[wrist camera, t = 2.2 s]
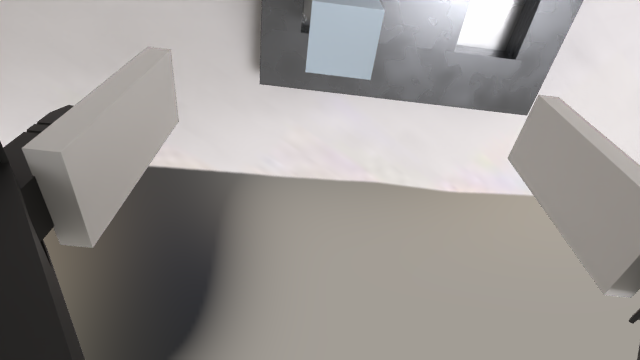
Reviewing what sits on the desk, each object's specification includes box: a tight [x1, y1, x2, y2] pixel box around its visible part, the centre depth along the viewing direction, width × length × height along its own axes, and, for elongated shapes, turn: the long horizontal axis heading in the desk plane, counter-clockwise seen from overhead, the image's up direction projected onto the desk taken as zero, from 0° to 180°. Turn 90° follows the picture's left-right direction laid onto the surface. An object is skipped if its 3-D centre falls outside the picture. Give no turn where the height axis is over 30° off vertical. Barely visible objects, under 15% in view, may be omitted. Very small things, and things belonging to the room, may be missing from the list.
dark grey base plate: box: [260, 0, 583, 115], centre depth 29 cm, size 14×23×3 cm, turn 83°
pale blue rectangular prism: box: [305, 0, 385, 80], centre depth 25 cm, size 4×4×12 cm
